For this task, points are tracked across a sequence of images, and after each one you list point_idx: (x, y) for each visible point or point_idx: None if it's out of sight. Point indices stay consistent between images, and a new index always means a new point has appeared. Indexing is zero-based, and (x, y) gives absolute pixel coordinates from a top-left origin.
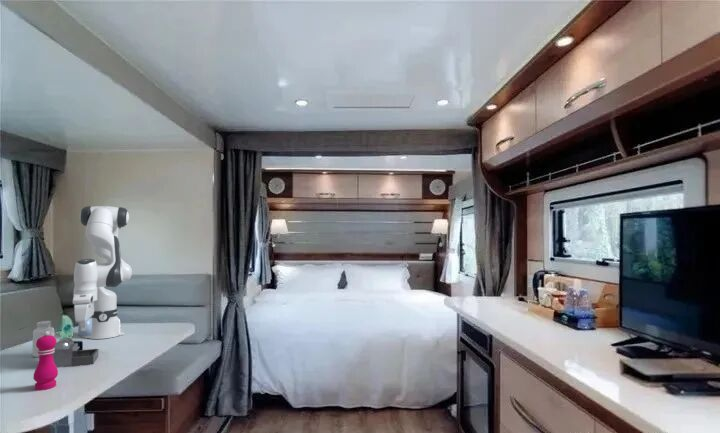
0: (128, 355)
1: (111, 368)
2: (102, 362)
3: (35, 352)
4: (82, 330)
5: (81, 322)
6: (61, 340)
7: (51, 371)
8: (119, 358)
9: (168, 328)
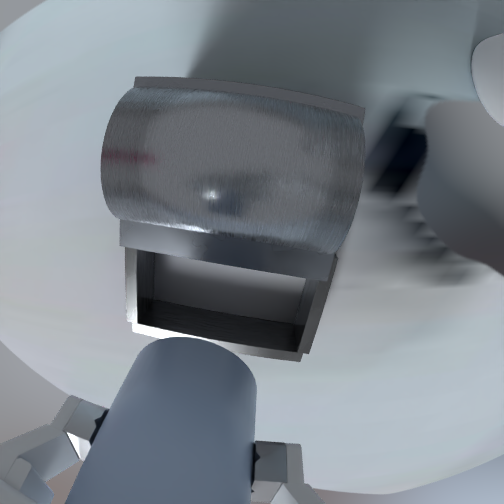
0: None
1: (66, 351)
2: None
3: (490, 40)
4: (75, 404)
5: (3, 459)
6: (201, 156)
7: None
8: None
9: (499, 455)
